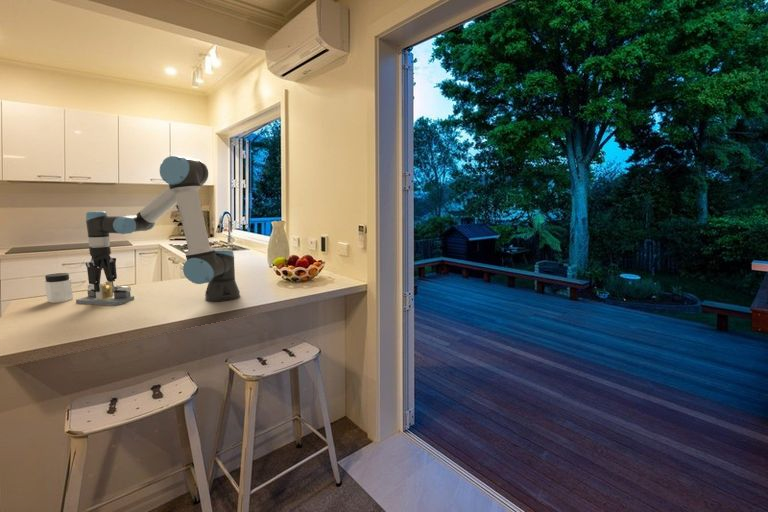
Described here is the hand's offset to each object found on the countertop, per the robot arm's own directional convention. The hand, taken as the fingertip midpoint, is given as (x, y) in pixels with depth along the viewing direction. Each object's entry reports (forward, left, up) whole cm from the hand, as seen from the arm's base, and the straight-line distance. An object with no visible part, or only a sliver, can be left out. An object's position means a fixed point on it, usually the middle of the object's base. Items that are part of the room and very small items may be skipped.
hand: (105, 296), depth 169 cm
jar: (+21, +3, -2) cm, 21 cm away
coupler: (0, 0, 0) cm, 0 cm away
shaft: (+7, -2, -1) cm, 7 cm away
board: (0, 0, -2) cm, 2 cm away
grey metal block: (-7, -2, -1) cm, 7 cm away
